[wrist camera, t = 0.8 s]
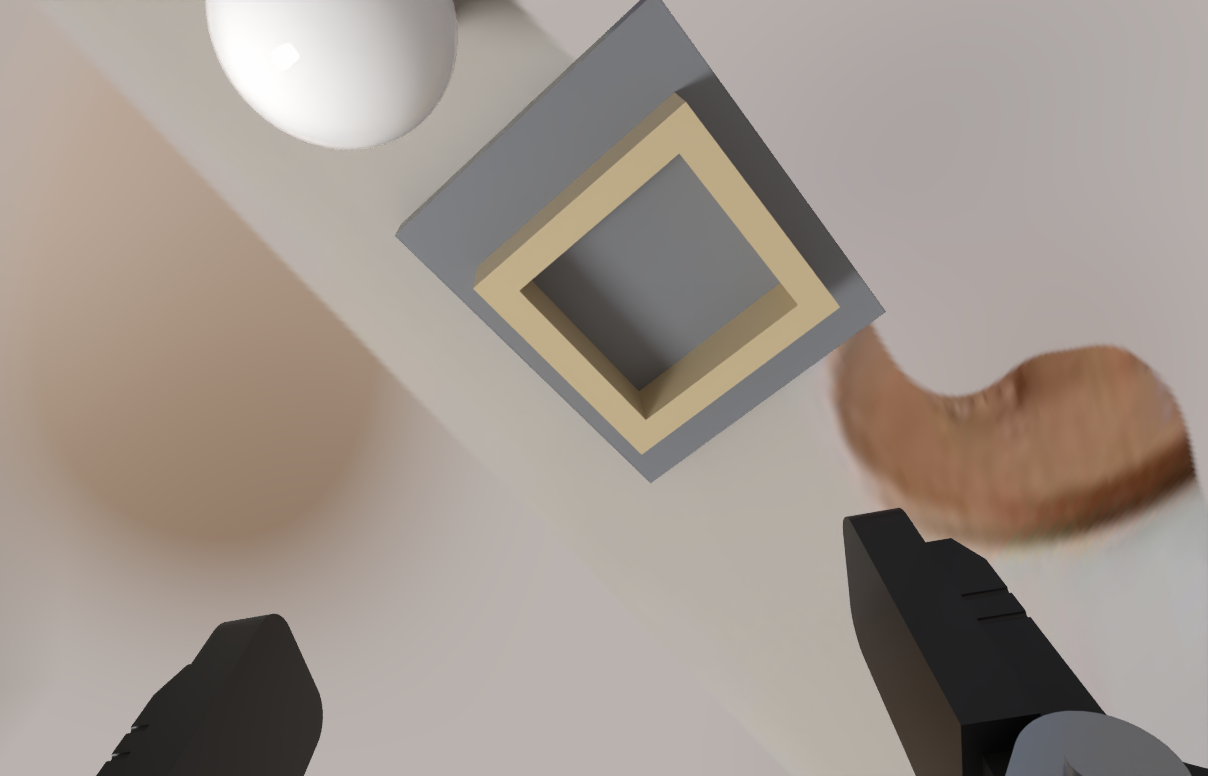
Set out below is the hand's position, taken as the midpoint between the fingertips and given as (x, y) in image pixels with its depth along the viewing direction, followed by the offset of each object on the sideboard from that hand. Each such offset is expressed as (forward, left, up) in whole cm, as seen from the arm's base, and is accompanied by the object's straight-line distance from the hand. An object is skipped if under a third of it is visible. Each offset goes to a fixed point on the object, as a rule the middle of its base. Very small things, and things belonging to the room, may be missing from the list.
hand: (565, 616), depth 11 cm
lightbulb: (-6, +6, -23) cm, 25 cm away
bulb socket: (+5, -2, -23) cm, 24 cm away
